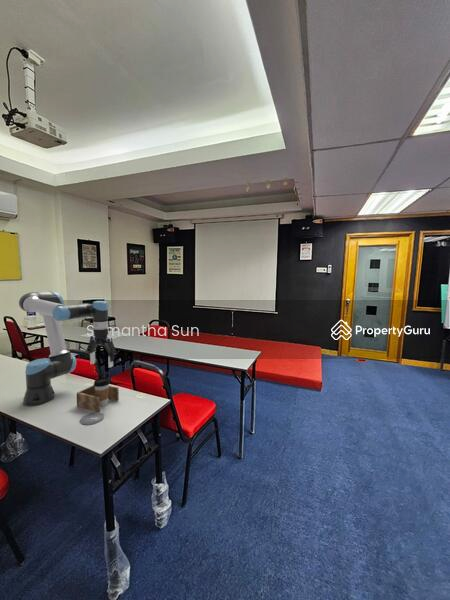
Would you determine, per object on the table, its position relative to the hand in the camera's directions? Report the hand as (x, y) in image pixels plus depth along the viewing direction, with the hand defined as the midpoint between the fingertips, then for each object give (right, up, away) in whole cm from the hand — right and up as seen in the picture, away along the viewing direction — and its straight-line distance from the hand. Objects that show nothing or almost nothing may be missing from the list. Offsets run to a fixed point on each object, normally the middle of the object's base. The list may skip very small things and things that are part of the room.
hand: (101, 365), depth 147 cm
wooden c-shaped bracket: (-3, -23, +3) cm, 24 cm away
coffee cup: (-1, -23, +2) cm, 24 cm away
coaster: (+1, -25, -13) cm, 28 cm away
